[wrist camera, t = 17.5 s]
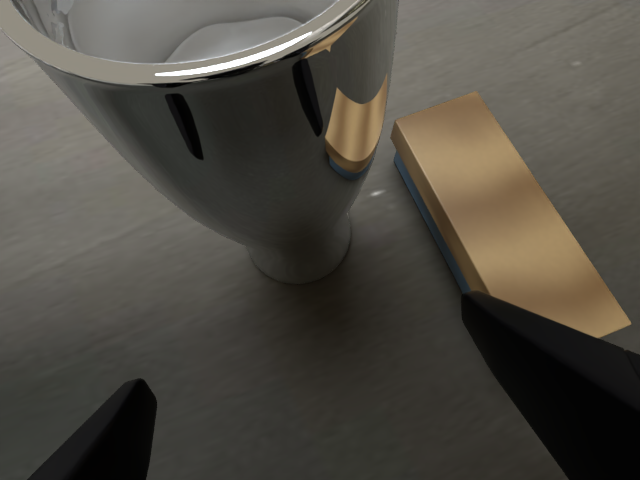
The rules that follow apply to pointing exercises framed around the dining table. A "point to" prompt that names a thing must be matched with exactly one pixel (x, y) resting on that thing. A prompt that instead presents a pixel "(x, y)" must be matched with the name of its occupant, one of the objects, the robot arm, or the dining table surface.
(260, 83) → the beer glass
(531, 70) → the dining table surface
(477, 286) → the scrub brush
